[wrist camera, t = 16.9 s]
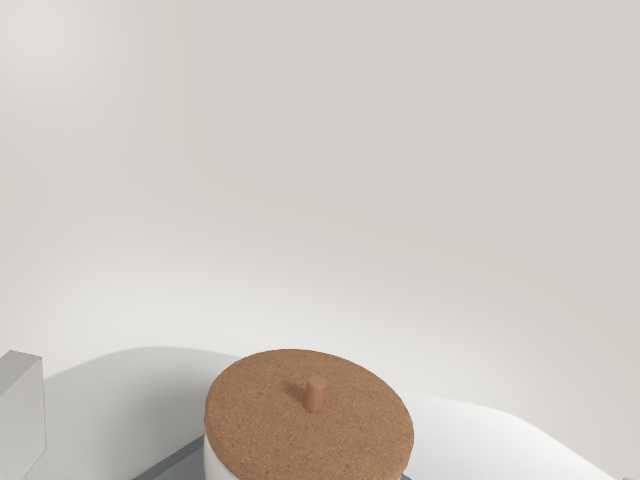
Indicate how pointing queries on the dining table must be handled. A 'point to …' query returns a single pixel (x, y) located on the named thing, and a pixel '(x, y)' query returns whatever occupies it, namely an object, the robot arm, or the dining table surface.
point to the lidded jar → (304, 421)
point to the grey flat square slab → (185, 465)
